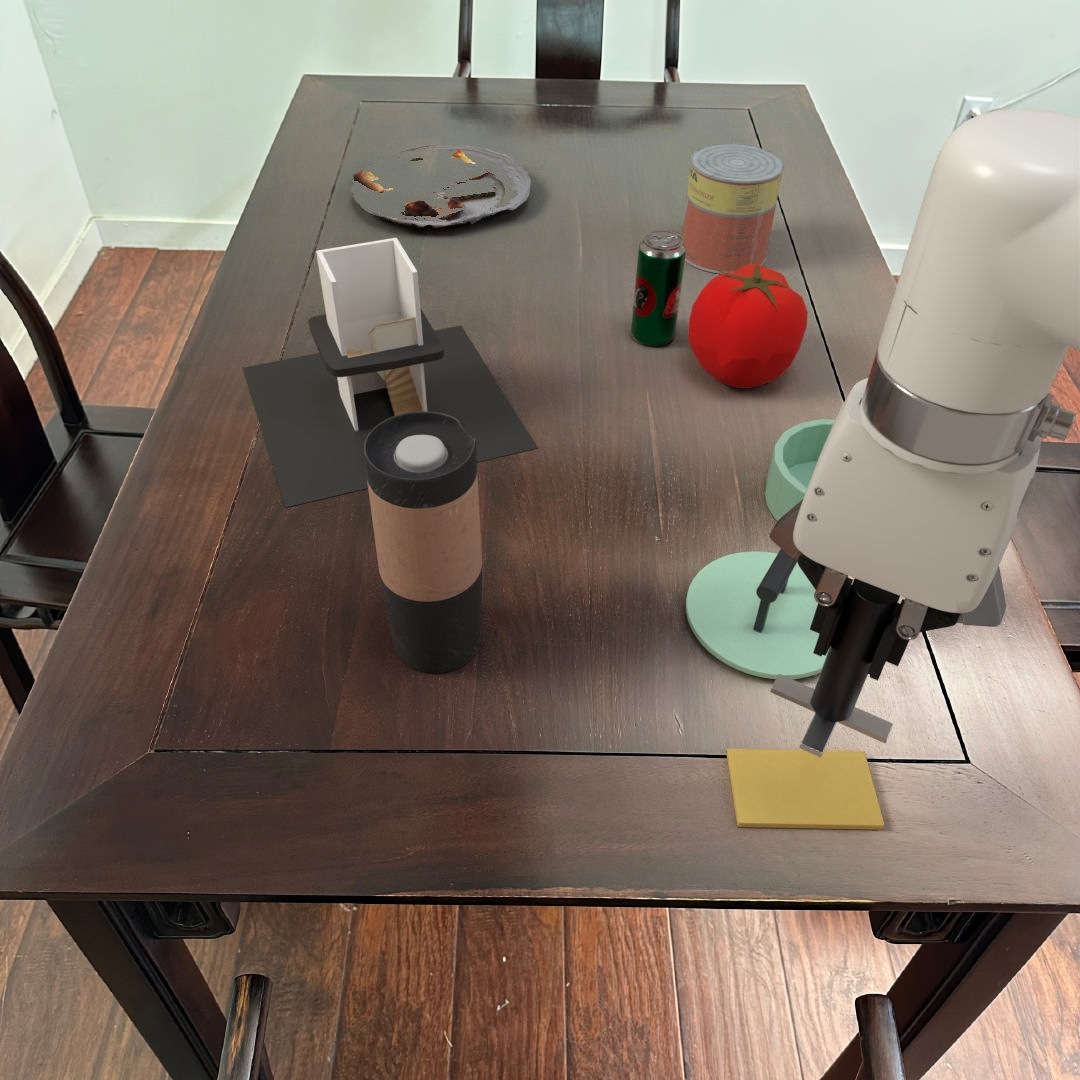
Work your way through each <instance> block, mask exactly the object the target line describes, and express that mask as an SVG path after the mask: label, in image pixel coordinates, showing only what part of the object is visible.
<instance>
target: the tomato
mask: <svg viewBox="0 0 1080 1080" xmlns="http://www.w3.org/2000/svg"><path fill="white" fill-rule="evenodd" d="M714 270H715V269H714ZM717 271H718V270H717ZM719 272H721V273H723V274H718V275H717V276H715V277H713V278H712V279H711V280H709V282H707V284H706V285H705V286H704V287H703V288H702V289H701V291H700V292H699V294H698V296H697V298H696V299H695V300H694V302H693V304H692V307H691V311H690V313H689V314H690V315H689V319H688V334H687V336H688V343H689V346H690V348H691V350H692V353H693V354H694V356H695V357H696V360H697V361H698V363H699V365H700V367H701V368H702V369H703V370H704V371H705V372H706V373H708V374H709V375H710V376H711V377H712V378H713V379H714V380H716V382H718V383H721V384H723V385H727V386H729V387H732V388H735V389H752V388H755V387H759V386H763V385H766V384H768V383H772V382H774V381H776V380H777V379H779V378H780V377H781V375H783V373H784V372H785V371H786V370H788V369H789V368H790V367H791V366H792V363H794V360H795V358H796V356H797V354H798V353H799V351H800V347H801V345H802V342H803V340H804V339H803V338H804V337H805V333H806V331H807V327H808V309H807V306H806V302H805V301H804V298H803V296H802V295H800V294H799V293H798V292H797V291H795V290H794V289H793V288H791V287H790V285H789V282H788V281H787V279H786V276H784V274H782V272H779V271H777V270H774V269H772V268H769V267H767V266H764V265H762V266H761V265H759V264H749V265H746V266H744V267H742V268H740V269H738V270H737V271H735V272H726V273H725V272H722V271H719Z"/></svg>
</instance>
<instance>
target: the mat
mask: <svg viewBox="0 0 1080 1080" xmlns="http://www.w3.org/2000/svg"><path fill="white" fill-rule="evenodd" d="M726 761H727V767H728V774H729V779H730V787H731V793H732V799H733V807H734V813H735V821H736V827H737V828H767V829H768V828H770V829H771V828H772V829H773V828H774V829H775V828H776V829H777V828H778V829H826V830H829V829H830V830H831V829H832V830H875V831H876V830H878V831H879V830H883V829H884V828H885V822H884V817H883V814H882V811H881V806H880V803H879V799H878V795H877V792H876V788H875V783H874V781H873V777H872V773H871V770H870V766H869V762H868V759H867V754H866V752H865V751H864V750H830V749H829V750H826V749H825V750H824V752H823V755H822V757H821V758H820V757H818V756H816V755H814V754H811V753H809V752H807V751H805V750H803V749H776V748H775V749H770V748H768V749H767V748H727V749H726Z"/></svg>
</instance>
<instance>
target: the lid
mask: <svg viewBox="0 0 1080 1080" xmlns="http://www.w3.org/2000/svg"><path fill="white" fill-rule="evenodd" d="M815 591H816V590H815V588H814V587H813V586H812V584H811V583H810V581H809V580H808V578H807V577H806V576H805V574H804V573H803V571H802V570H801V568H800V567H799V565H798V560H797V559H796V558H795V557H793V558H792V557H791V556H790V555H788V554H787V553H786V552H785V551H784V550H782V549H781V548H780V549H779V551H778V552H777V553H776V552H769V551H758V550H757V551H755V550H754V551H742V552H736V553H731V554H727V555H724V556H721V557H719V558H716V559H714V560H712V561H710V563H708V564H707V565H705V566H703V568H701V569H700V570H699V571H698V572H697V574H696V575H695V576H694V577H693V579H692V580H691V583H690V584H689V587H688V589H687V592H686V599H685V614H686V619H687V622H688V624H689V628H690V629H691V631H692V633H693V634H694V636H695V638H696V639H697V640H698V642H699V643H700V644H701V646H703V647H704V648H705V649H706V650H707V652H708V653H710V654H711V655H713V656H714V657H715V658H716V659H717V660H719V661H720V662H722V663H723V664H725V665H727V666H729V667H731V668H733V669H735V670H737V671H740V672H742V673H744V674H748V675H752V676H755V677H758V678H765V679H770V680H776V678H777V676H778V674H781V675H783V676H786V677H788V678H790V679H793V680H797V679H805V678H808V677H813V676H815V675H818V674H820V673H821V670H822V667H823V664H824V662H825V659H826V656H827V654H826V656H824V655H822V656H818V655H816V654H814V653H813V652H814V649H815V646H816V643H817V640H818V637H819V633H817V632H814V631H812V630H810V627H811V623H812V620H813V617H814V614H815V611H816V608H817V605H818V603H817V602H816V600H815V599H814V593H815ZM827 653H828V652H827Z"/></svg>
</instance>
